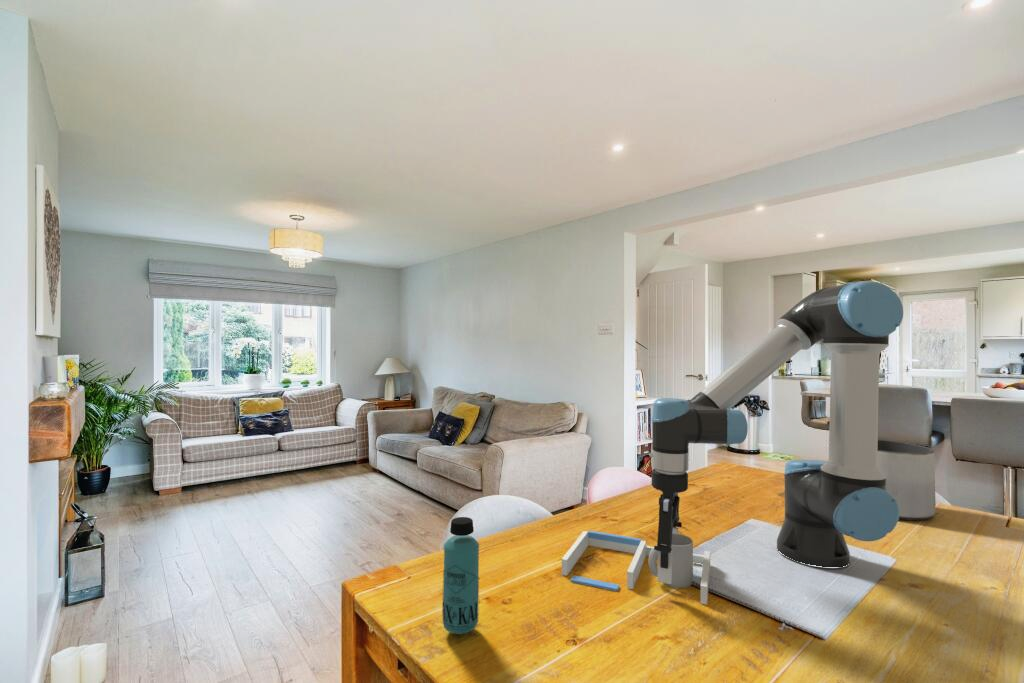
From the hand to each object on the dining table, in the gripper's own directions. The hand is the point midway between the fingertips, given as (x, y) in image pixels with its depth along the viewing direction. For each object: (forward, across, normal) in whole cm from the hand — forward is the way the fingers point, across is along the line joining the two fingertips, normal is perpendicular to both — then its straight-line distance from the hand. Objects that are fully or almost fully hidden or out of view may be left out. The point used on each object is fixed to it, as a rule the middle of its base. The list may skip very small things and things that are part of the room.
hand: (668, 568), depth 105 cm
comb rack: (+3, -2, -7) cm, 8 cm away
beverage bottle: (+3, +35, -31) cm, 47 cm away
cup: (+3, 0, 0) cm, 3 cm away
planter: (+2, -77, +58) cm, 96 cm away
